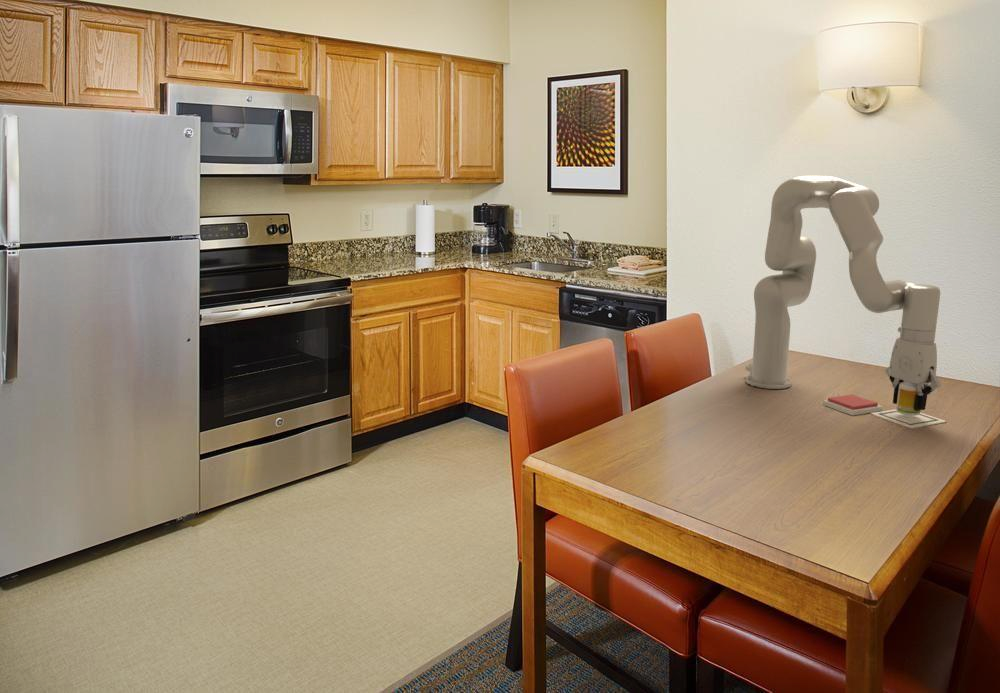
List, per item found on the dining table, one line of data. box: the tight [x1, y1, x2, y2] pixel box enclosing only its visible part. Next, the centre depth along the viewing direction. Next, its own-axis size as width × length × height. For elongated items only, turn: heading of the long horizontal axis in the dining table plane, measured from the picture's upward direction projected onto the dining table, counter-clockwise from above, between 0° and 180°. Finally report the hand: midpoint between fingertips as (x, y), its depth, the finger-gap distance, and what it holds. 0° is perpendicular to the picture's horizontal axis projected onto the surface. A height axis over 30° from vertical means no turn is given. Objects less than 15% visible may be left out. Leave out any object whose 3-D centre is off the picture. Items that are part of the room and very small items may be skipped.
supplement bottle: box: [895, 381, 923, 416], centre depth 192 cm, size 5×5×10 cm
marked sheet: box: [870, 408, 948, 429], centre depth 193 cm, size 12×12×1 cm
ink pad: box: [822, 394, 883, 416], centre depth 202 cm, size 10×10×2 cm
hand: (908, 405), depth 193 cm, fingers closed on supplement bottle, 5 cm apart
